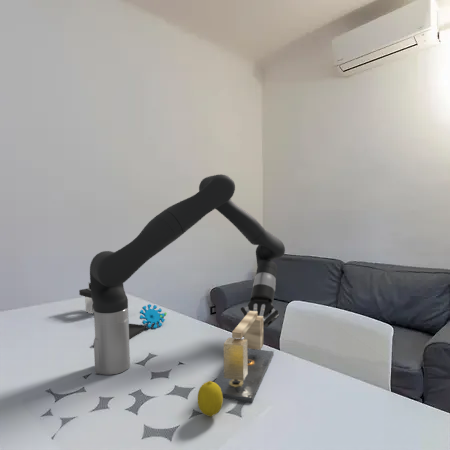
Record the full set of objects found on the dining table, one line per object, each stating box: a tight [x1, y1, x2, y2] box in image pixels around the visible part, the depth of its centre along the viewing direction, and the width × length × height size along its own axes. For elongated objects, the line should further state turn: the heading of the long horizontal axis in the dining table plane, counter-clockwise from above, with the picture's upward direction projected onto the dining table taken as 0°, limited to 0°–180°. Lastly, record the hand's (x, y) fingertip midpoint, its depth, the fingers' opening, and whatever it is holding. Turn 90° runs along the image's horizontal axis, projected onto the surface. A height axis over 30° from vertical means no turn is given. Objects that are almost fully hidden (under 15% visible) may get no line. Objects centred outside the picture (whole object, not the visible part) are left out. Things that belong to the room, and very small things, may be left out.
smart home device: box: [93, 323, 147, 346], centre depth 128 cm, size 8×2×20 cm
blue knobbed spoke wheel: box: [138, 303, 168, 330], centre depth 140 cm, size 11×6×10 cm
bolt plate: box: [214, 337, 274, 404], centre depth 100 cm, size 27×11×12 cm, turn 162°
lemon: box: [197, 380, 224, 418], centre depth 80 cm, size 6×6×8 cm
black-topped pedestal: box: [79, 281, 94, 314], centre depth 155 cm, size 28×26×13 cm
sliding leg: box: [231, 310, 264, 350], centre depth 102 cm, size 20×5×12 cm, turn 162°
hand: (255, 337), depth 113 cm, fingers closed
